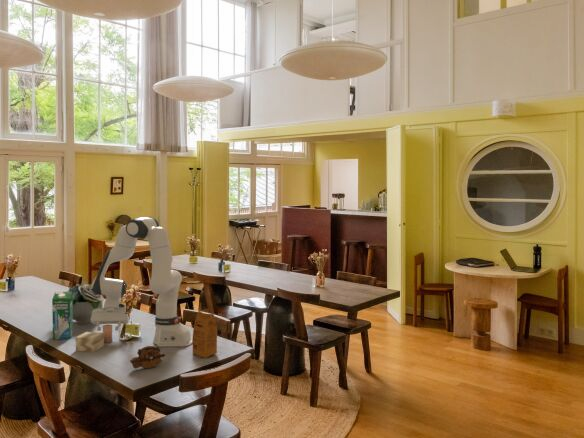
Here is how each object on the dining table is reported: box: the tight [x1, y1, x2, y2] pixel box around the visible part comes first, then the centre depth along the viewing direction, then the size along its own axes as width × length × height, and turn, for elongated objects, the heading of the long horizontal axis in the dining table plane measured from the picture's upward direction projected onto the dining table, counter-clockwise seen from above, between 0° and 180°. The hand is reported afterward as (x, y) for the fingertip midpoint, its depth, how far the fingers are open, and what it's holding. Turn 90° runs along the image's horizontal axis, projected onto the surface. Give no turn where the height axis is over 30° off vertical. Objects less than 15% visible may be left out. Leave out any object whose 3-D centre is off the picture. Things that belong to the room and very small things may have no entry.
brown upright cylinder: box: [102, 324, 113, 344], centre depth 275 cm, size 5×5×9 cm
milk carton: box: [51, 291, 74, 340], centre depth 282 cm, size 9×9×25 cm
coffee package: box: [191, 310, 218, 359], centre depth 257 cm, size 10×12×22 cm
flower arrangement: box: [66, 283, 105, 325], centre depth 311 cm, size 25×25×24 cm
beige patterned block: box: [75, 331, 105, 353], centre depth 264 cm, size 10×10×7 cm
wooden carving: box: [129, 345, 166, 369], centre depth 238 cm, size 16×5×10 cm, turn 126°
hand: (107, 330), depth 275 cm, fingers open, 8 cm apart
